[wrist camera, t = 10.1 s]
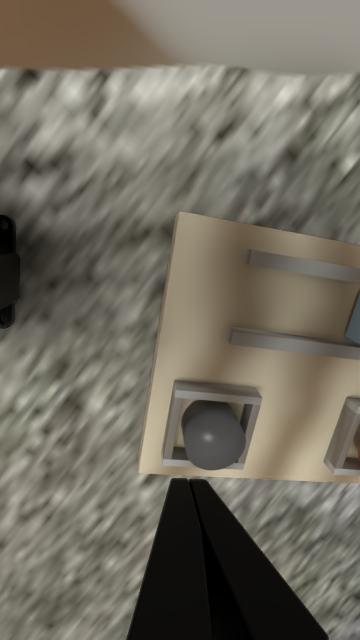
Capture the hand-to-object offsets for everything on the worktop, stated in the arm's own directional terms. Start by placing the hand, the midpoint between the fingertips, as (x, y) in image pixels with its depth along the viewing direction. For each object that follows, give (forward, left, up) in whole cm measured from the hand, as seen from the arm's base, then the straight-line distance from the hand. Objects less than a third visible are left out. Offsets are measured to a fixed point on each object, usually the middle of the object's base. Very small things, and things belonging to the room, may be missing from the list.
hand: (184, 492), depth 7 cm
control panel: (+10, -1, -13) cm, 16 cm away
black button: (+4, -5, -11) cm, 13 cm away
